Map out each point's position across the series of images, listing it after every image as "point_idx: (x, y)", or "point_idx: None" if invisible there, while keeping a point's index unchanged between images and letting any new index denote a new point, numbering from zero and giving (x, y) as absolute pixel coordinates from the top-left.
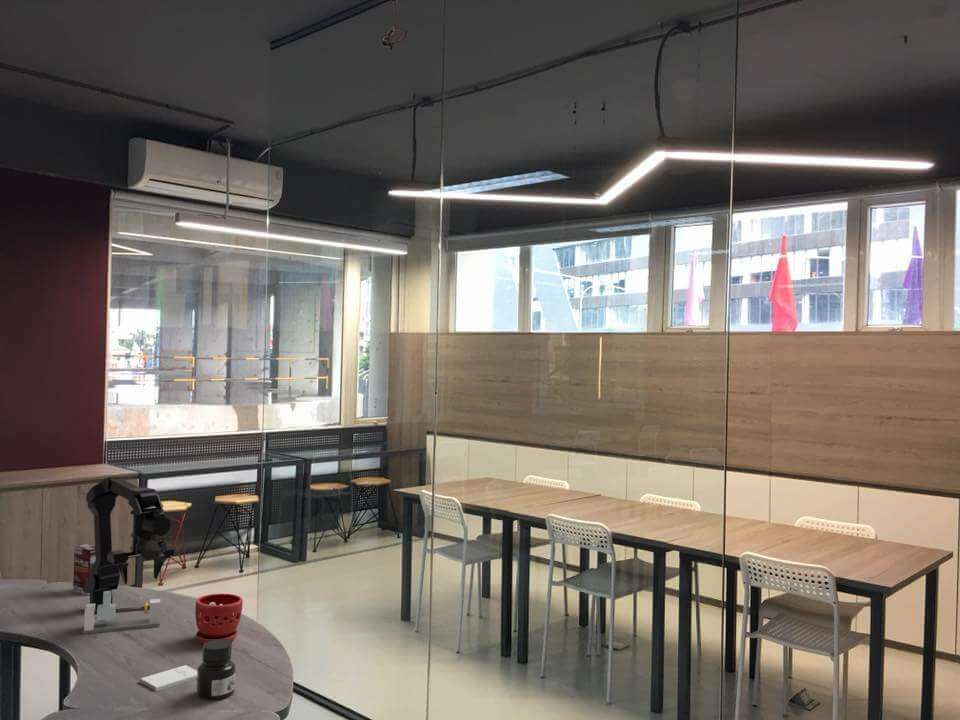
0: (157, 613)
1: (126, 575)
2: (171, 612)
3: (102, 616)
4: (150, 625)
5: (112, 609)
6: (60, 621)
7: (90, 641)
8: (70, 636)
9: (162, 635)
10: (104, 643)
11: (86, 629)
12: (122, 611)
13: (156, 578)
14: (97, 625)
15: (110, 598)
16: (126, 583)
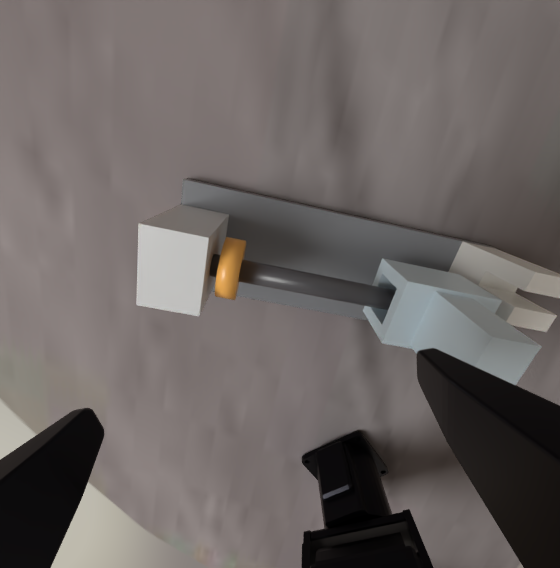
0: (180, 213)
1: (525, 421)
2: (126, 343)
3: (446, 275)
4: (227, 189)
5: (417, 279)
6: None
7: (509, 125)
8: (535, 244)
9: (189, 10)
10: (475, 47)
11: (490, 247)
12: (352, 281)
13: (79, 409)
14: None
15: (466, 317)
16: (427, 350)
